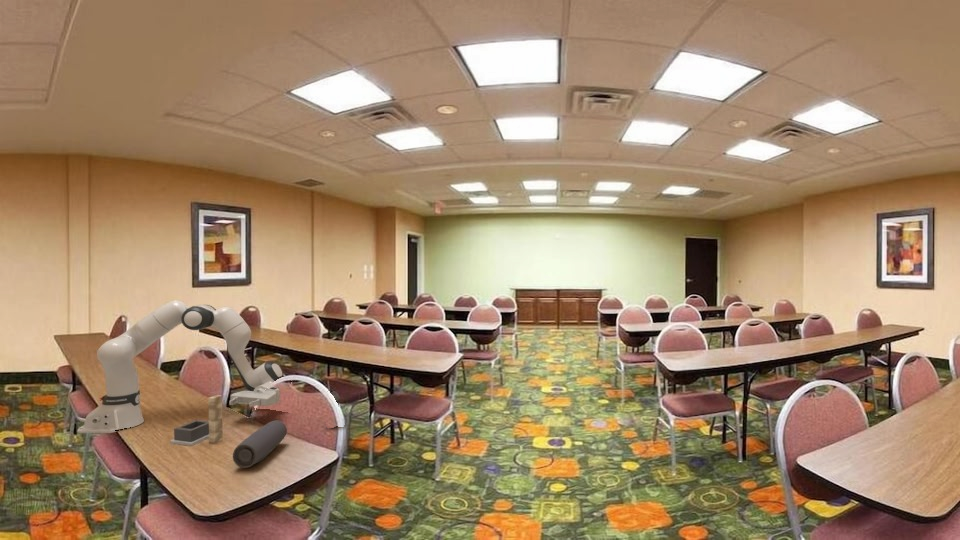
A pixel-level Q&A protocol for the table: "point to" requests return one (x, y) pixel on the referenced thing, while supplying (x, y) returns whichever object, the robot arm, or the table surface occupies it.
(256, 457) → the bluetooth speaker
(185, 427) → the grey hollow box
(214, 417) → the slat
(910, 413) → the table surface
